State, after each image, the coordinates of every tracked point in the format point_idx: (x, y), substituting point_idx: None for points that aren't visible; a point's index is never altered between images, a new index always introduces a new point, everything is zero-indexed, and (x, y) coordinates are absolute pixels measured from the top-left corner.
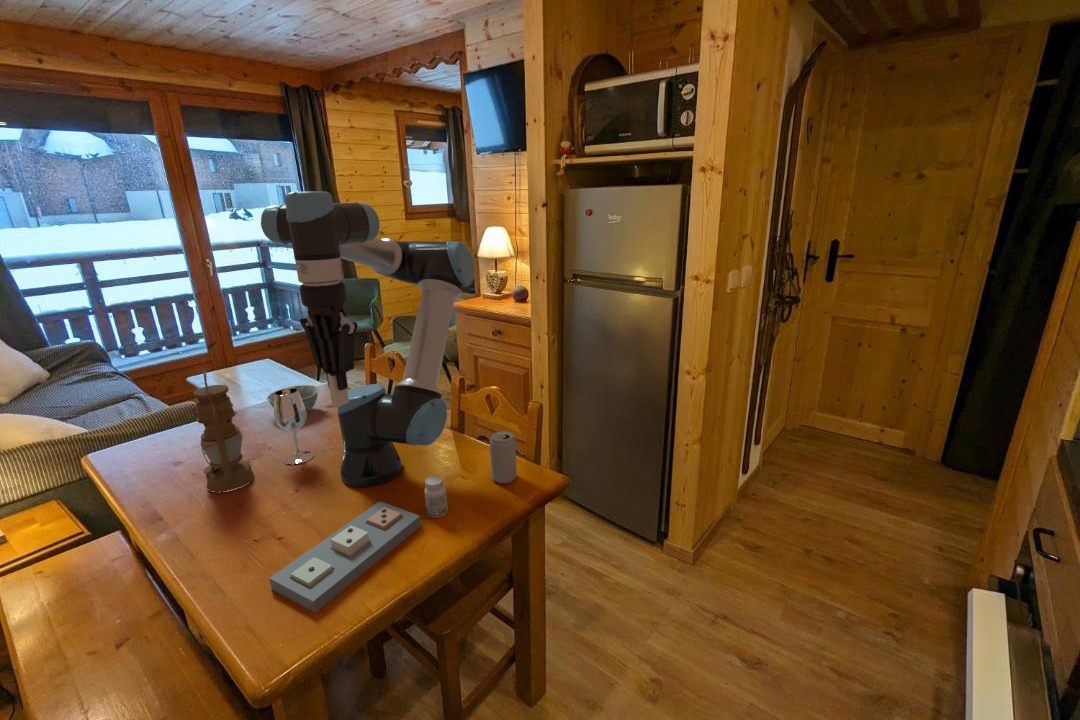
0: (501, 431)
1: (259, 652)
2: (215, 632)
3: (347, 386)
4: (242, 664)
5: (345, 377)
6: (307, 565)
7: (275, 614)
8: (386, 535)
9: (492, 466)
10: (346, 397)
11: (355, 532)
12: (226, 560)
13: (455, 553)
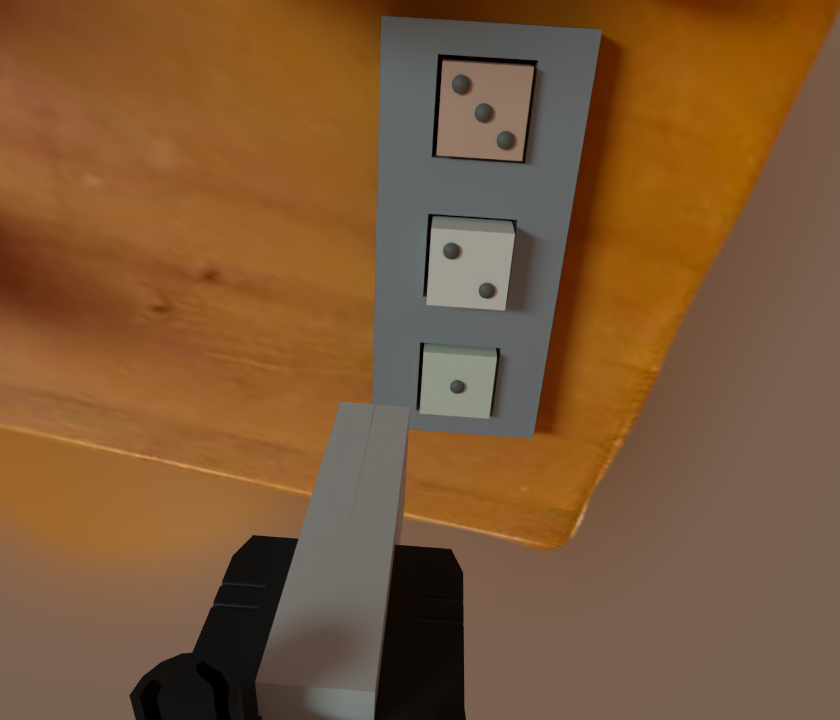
0: None
1: (500, 510)
2: None
3: (458, 568)
4: (493, 533)
5: (462, 682)
6: (434, 380)
7: (449, 449)
8: (549, 181)
9: None
10: (404, 457)
11: (474, 250)
12: (179, 386)
13: (787, 110)
